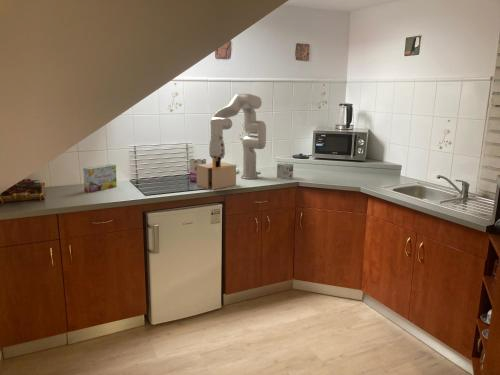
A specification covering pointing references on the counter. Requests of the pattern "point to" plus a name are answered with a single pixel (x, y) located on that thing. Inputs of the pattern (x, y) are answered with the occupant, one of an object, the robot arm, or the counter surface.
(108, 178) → the snack box
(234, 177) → the flap
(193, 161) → the candy bar box
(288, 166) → the light bulb box
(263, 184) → the counter surface
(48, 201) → the counter surface
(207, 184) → the carton
